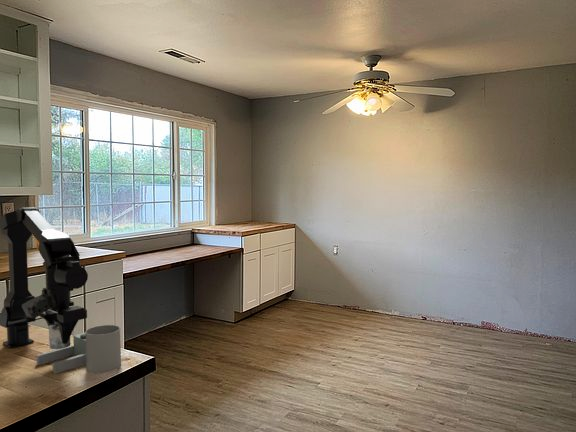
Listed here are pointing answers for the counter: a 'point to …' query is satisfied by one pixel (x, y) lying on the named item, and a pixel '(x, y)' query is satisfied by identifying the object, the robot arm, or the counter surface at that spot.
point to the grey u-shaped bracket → (66, 355)
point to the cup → (103, 349)
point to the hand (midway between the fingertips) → (60, 341)
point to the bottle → (56, 337)
